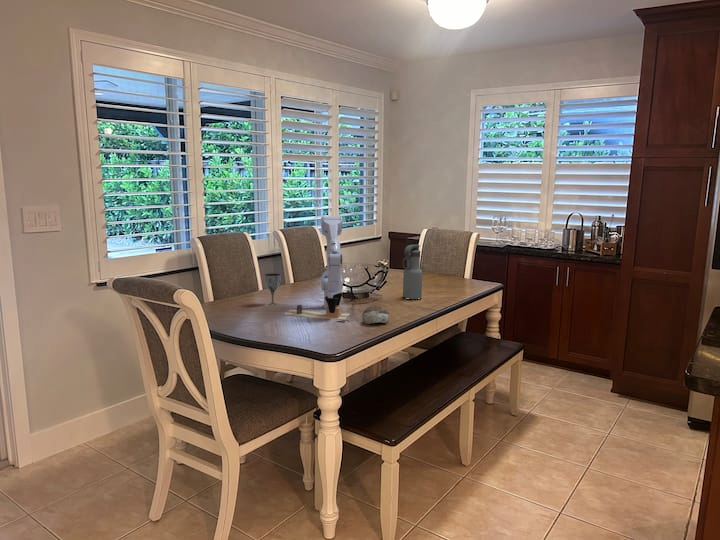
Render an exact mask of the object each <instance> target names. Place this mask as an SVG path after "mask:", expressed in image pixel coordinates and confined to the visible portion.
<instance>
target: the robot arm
mask: <svg viewBox="0 0 720 540" xmlns="http://www.w3.org/2000/svg"><path fill="white" fill-rule="evenodd" d="M320 219H321V220H320V224H321V225H320V228H321V231H320V232H321V235H323V236H325V239H326V270H325V271H324V272H323V273H322V275H321V279H320V284H321V285H320V289H321V290H322V291H323V293H324V294H323V296H324V297H323V308H324V309H325V310H326V308H327V307H328V308H329V312H330V313H335V308H336V306H341V300H342V297H343V295H344V292H342V290H343V289H344V288H343V287H344V285H343V284H344V283H343V275H342V266H343V259H344V258H343V253H342V249H341V242H340V241H339V240H338V237H339V236H341V234H342V231H343V224H344V223H343V220H344V219H343V216H341V215H337V216H333V215H332V216H331V215H329V216H328V215H322V216H321V217H320Z"/></svg>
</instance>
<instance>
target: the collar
mask: <svg viewBox="0 0 720 540" xmlns="http://www.w3.org/2000/svg"><path fill="white" fill-rule="evenodd" d="M336 307H337V308H335V313H330V312H329V308H328V307H327V308H326V309H325V312H326V317H336V318H339V317H340V316H341V313H342V309H343V306H342V305H340V306H336Z"/></svg>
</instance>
